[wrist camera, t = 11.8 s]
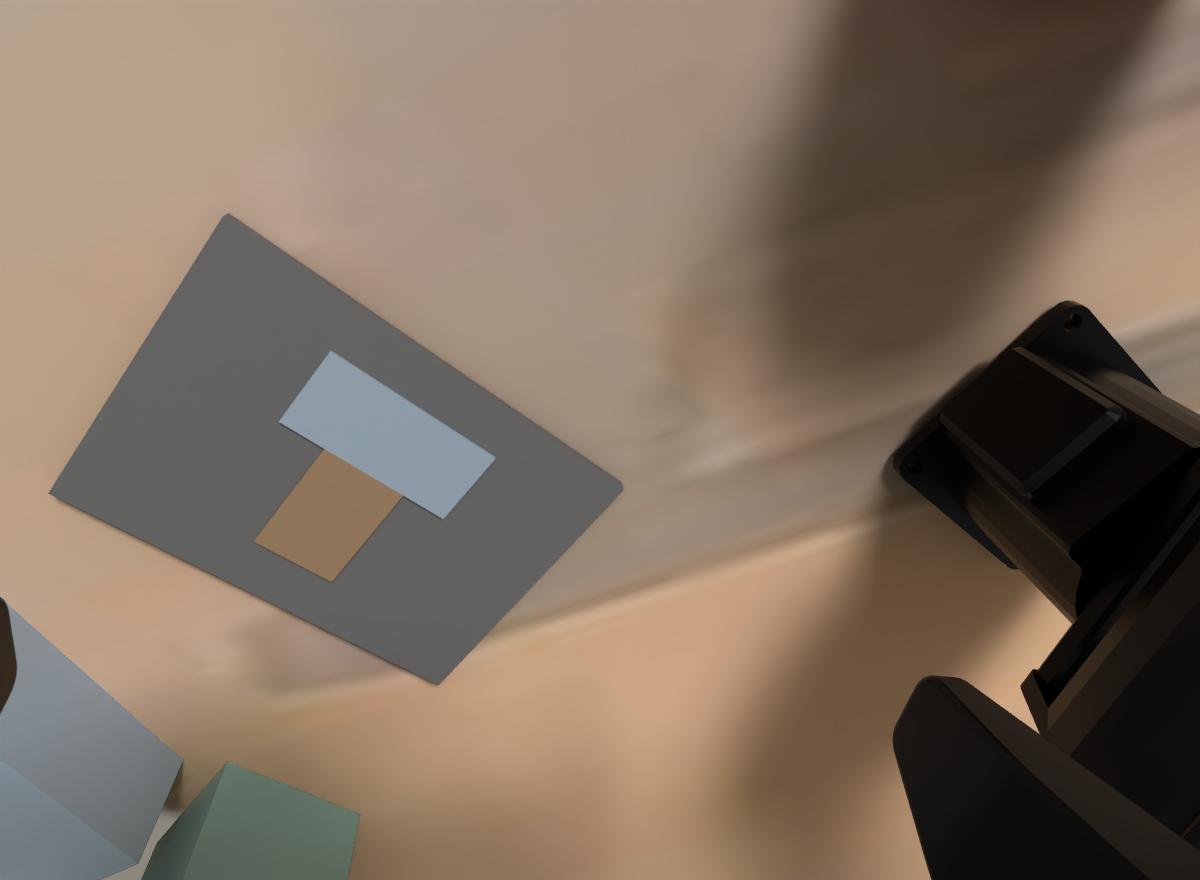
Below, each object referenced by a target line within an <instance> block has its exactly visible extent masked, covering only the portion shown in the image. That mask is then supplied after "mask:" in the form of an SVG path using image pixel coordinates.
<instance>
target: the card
mask: <svg viewBox="0 0 1200 880" xmlns="http://www.w3.org/2000/svg"><path fill="white" fill-rule="evenodd" d="M622 491H623V486H622V482H620V481H619V480H617V479H616V478H614V477H613V476H611V475H610V474H609V473H607V472H606V471H604V470H603V469H601V468H600V467H598V466H597V465H595V464H594V463H592V462H591V461H590V460H588V459H587V458H585V457H584V456H582V455H581V454H579V453H578V452H576V451H575V450H573V449H572V448H571V447H569V446H568V445H566V444H565V443H563V442H562V441H560V440H559V439H557V438H556V437H554V436H553V435H552V434H550V433H549V432H547V431H546V430H544V429H543V428H541V427H540V426H538V425H537V424H536V423H534V422H533V421H531V420H530V419H528V418H527V417H525V416H524V415H522V414H521V413H519V412H518V411H517V410H515V409H514V408H512V407H511V406H509V405H508V404H506V403H505V402H503V401H502V400H500V399H499V398H498V397H496V396H495V395H493V394H492V393H490V392H489V391H487V390H486V389H484V388H483V387H481V386H480V385H479V384H477V383H476V382H474V381H473V380H471V379H470V378H468V377H467V376H465V375H464V374H462V373H461V372H460V371H458V370H457V369H455V368H454V367H452V366H451V365H449V364H448V363H446V362H445V361H444V360H442V359H441V358H439V357H438V356H436V355H435V354H433V353H432V352H430V351H429V350H427V349H426V348H425V347H423V346H422V345H420V344H419V343H417V342H416V341H414V340H413V339H411V338H410V337H408V336H407V335H406V334H404V333H403V332H401V331H400V330H398V329H397V328H395V327H394V326H392V325H391V324H389V323H388V322H387V321H385V320H384V319H382V318H381V317H379V316H378V315H376V314H375V313H373V312H372V311H370V310H369V309H368V308H366V307H365V306H363V305H362V304H360V303H359V302H357V301H356V300H354V299H353V298H352V297H350V296H349V295H347V294H346V293H344V292H343V291H341V290H340V289H338V288H337V287H335V286H334V285H333V284H331V283H330V282H328V281H327V280H325V279H324V278H322V277H321V276H319V275H318V274H316V273H315V272H314V271H312V270H311V269H309V268H308V267H306V266H305V265H303V264H302V263H300V262H299V261H297V260H296V259H295V258H293V257H292V256H290V255H289V254H287V253H286V252H284V251H283V250H281V249H280V248H278V247H277V246H276V245H274V244H273V243H271V242H270V241H268V240H267V239H265V238H264V237H262V236H261V235H260V234H258V233H257V232H255V231H254V230H252V229H251V228H249V227H248V226H246V225H245V224H243V223H242V222H241V221H239V220H238V219H236V218H235V217H233V216H232V215H230V214H229V213H228V214H226V215H225V216H223V217H222V219H221V221H220V222H219V224H218V225H217V227H216V229H215V230H214V232H213V233H212V235H211V236H210V238H209V240H208V241H207V243H206V244H205V246H204V248H203V249H202V251H201V252H200V254H199V255H198V257H197V259H196V260H195V262H194V263H193V265H192V267H191V268H190V270H189V271H188V273H187V274H186V276H185V278H184V279H183V281H182V282H181V284H180V286H179V287H178V289H177V290H176V292H175V294H174V295H173V297H172V298H171V300H170V301H169V303H168V305H167V306H166V308H165V309H164V311H163V313H162V314H161V316H160V317H159V319H158V320H157V322H156V324H155V325H154V327H153V328H152V330H151V332H150V333H149V335H148V336H147V338H146V339H145V341H144V343H143V344H142V346H141V347H140V349H139V351H138V352H137V354H136V355H135V357H134V359H133V360H132V362H131V363H130V365H129V366H128V368H127V370H126V371H125V373H124V374H123V376H122V378H121V379H120V381H119V382H118V384H117V385H116V387H115V389H114V390H113V392H112V393H111V395H110V397H109V398H108V400H107V401H106V403H105V404H104V406H103V408H102V409H101V411H100V412H99V414H98V416H97V417H96V419H95V420H94V422H93V424H92V425H91V427H90V428H89V430H88V431H87V433H86V435H85V436H84V438H83V439H82V441H81V443H80V444H79V446H78V447H77V449H76V450H75V452H74V454H73V455H72V457H71V458H70V460H69V462H68V463H67V465H66V466H65V468H64V470H63V471H62V473H61V474H60V476H59V477H58V479H57V481H56V482H55V484H54V485H53V487H52V489H51V490H50V492H49V493H48V494H50V495H52V496H54V497H56V498H58V499H60V500H63V501H65V502H67V503H69V504H71V505H73V506H75V507H77V508H79V509H81V510H83V511H85V512H87V513H89V514H91V515H93V516H95V517H97V518H99V519H101V520H103V521H105V522H107V523H109V524H111V525H113V526H115V527H117V528H119V529H121V530H123V531H125V532H128V533H130V534H132V535H134V536H136V537H138V538H140V539H142V540H144V541H146V542H148V543H150V544H152V545H154V546H156V547H158V548H160V549H162V550H164V551H166V552H168V553H170V554H172V555H174V556H176V557H178V558H180V559H182V560H184V561H186V562H188V563H190V564H193V565H195V566H197V567H199V568H201V569H203V570H205V571H207V572H209V573H211V574H213V575H215V576H217V577H219V578H221V579H223V580H225V581H227V582H229V583H231V584H233V585H235V586H237V587H239V588H241V589H243V590H245V591H247V592H249V593H251V594H253V595H255V596H258V597H260V598H262V599H264V600H266V601H268V602H270V603H272V604H274V605H276V606H278V607H280V608H282V609H284V610H286V611H288V612H290V613H292V614H294V615H296V616H298V617H300V618H302V619H304V620H306V621H308V622H310V623H312V624H314V625H316V626H318V627H320V628H322V629H325V630H327V631H329V632H331V633H333V634H335V635H337V636H339V637H341V638H343V639H345V640H347V641H349V642H351V643H353V644H355V645H357V646H359V647H361V648H363V649H365V650H367V651H369V652H371V653H373V654H375V655H377V656H379V657H381V658H383V659H385V660H387V661H390V662H392V663H394V664H396V665H398V666H400V667H402V668H404V669H406V670H408V671H410V672H412V673H414V674H416V675H418V676H420V677H422V678H424V679H426V680H428V681H430V682H432V683H434V684H436V685H439V684H440V683H441V682H442V681H443V680H444V679H445V678H446V677H447V675H448V674H449V673H450V672H451V671H452V670H453V669H454V668H455V667H456V666H457V665H458V664H459V663H460V662H461V661H462V660H463V659H464V658H465V656H466V655H467V654H468V653H469V652H470V651H471V650H472V649H473V648H474V647H475V646H476V645H477V644H478V643H479V642H480V641H481V640H482V639H483V637H484V636H485V635H486V634H487V633H488V632H489V631H490V630H491V629H492V628H493V627H494V626H495V625H496V624H497V623H498V622H499V621H500V620H501V618H502V617H503V616H504V615H505V614H506V613H507V612H508V611H509V610H510V609H511V608H512V607H513V606H514V605H515V604H516V603H517V602H518V601H519V600H520V598H521V597H522V596H523V595H524V594H525V593H526V592H527V591H528V590H529V589H530V588H531V587H532V586H533V585H534V584H535V583H536V582H537V581H538V579H539V578H540V577H541V576H542V575H543V574H544V573H545V572H546V571H547V570H548V569H549V568H550V567H551V566H552V565H553V564H554V563H555V562H556V560H557V559H558V558H559V557H560V556H561V555H562V554H563V553H564V552H565V551H566V550H567V549H568V548H569V547H570V546H571V545H572V544H573V543H574V541H575V540H576V539H577V538H578V537H579V536H580V535H581V534H582V533H583V532H584V531H585V530H586V529H587V528H588V527H589V526H590V525H591V524H592V523H593V521H594V520H595V519H596V518H597V517H598V516H599V515H600V514H601V513H602V512H603V511H604V510H605V509H606V508H607V507H608V506H609V505H610V504H611V502H612V501H613V500H614V499H615V498H616V497H617V496H618V495H619V494H620V493H621V492H622Z"/></svg>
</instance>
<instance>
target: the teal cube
mask: <svg viewBox="0 0 1200 880" xmlns="http://www.w3.org/2000/svg"><path fill="white" fill-rule="evenodd" d="M359 816H360V814H358V813H356V812H353V811H351V810H348V809H346V808H343V807H341V806H338V805H336V804H333V803H331V802H328V801H326V800H323V799H321V798H318V797H316V796H313V795H311V794H308V793H306V792H303V791H301V790H298V789H296V788H293V787H291V786H288V785H286V784H283V783H281V782H278V781H276V780H273V779H270V778H268V777H265V776H263V775H260V774H258V773H255V772H253V771H250V770H248V769H245V768H243V767H240V766H238V765H235V764H233V763H230V762H228V761H227V763H226V764H225V765H224V766H223V767H222V769H221V770H220V771H219V772H218V773H217V774H216V776H215V777H214V778H213V779H212V780H211V781H210V783H209V784H208V785H207V786H206V787H205V788H204V790H203V791H202V792H201V793H200V794H199V795H198V797H197V798H196V799H195V800H194V801H193V802H192V804H191V805H190V806H189V807H188V808H187V809H186V811H185V812H184V813H183V814H182V815H181V816H179V818H178V819H177V820H176V821H175V822H174V823H173V825H172V826H171V827H170V828H169V829H168V831H167V832H166V833H165V834H164V835H163V836H162V837H161V839H160V840H159V841H158V842H157V844H156V846H155V849H154V851H153V853H152V856H151V858H150V860H149V863H148V865H147V867H146V870H145V872H144V874H143V877H142V879H141V880H348V875H349V870H350V864H351V859H352V853H353V848H354V843H355V837H356V832H357V826H358V821H359Z"/></svg>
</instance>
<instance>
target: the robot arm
mask: <svg viewBox="0 0 1200 880" xmlns="http://www.w3.org/2000/svg"><path fill="white" fill-rule="evenodd" d="M1072 314H1073V316H1072V320H1071V321H1070V322H1069V324H1067V325H1066V326H1064V322H1065V320H1066V319H1067V318H1068V317H1069V316H1071V315H1072ZM1063 326H1064V327H1063ZM914 459H918V461H917V462H916V463H915V464H914V465H913V466H911V467H908V464H909V463H910V462H911V461H912V460H914ZM893 466H894V468H895V470H896V471H897V472H898V473H899V475H900V476H901V477H902V478H903V479H904V480H905V481H907V482H908V483H909V484H910V485H911V486H913V487H914V488H915V489H916V490H917V491H919V492H920V493H921V494H922V495H923V496H924V497H926V498H927V499H928V500H929V501H930V502H932V503H933V504H934V505H935V506H936V507H938V508H939V509H940V510H941V511H942V512H943V513H945V514H946V515H947V516H948V517H949V518H951V519H952V520H953V521H954V522H955V523H956V524H958V525H959V526H960V527H961V528H962V529H964V530H965V531H966V532H967V533H968V534H970V535H971V536H972V537H973V538H974V539H975V540H977V541H978V542H979V543H980V544H981V545H983V546H984V547H985V548H986V549H987V550H989V551H990V552H991V553H992V554H993V555H994V556H996V557H997V558H998V559H999V560H1000V561H1002V562H1003V563H1004V564H1005V565H1006V566H1007V567H1009V568H1011V569H1020V570H1021V571H1022V572H1023V573H1024V574H1025V575H1026V576H1027V578H1028V579H1029V580H1030V581H1031V582H1032V583H1033V584H1034V585H1035V586H1036V587H1037V588H1038V589H1039V590H1040V591H1041V592H1042V593H1043V594H1044V595H1045V596H1046V597H1047V598H1048V599H1049V600H1050V601H1051V602H1052V604H1053V605H1054V606H1055V607H1056V608H1057V609H1058V610H1059V611H1060V612H1061V613H1062V614H1063V615H1064V616H1065V617H1066V618H1067V619H1068V620H1069V621H1070V622H1071V623H1072V625H1071V627H1070V628H1069V629H1068V630H1067V632H1066V633H1065V634H1064V636H1063V637H1062V638H1061V640H1060V641H1059V642H1058V644H1057V645H1056V646H1055V648H1054V649H1053V650H1052V652H1051V653H1050V654H1049V656H1048V657H1047V658H1046V660H1045V661H1044V662H1043V664H1042V665H1041V666H1040V668H1039V669H1038V670H1036V669H1033V670H1032V671H1031V672H1030V674H1029V675H1028V676H1027V678H1026V679H1025V680H1024V682H1023V683H1022V684H1021V686H1020V687H1021V690H1022V693H1023V695H1024V698H1025V700H1026V702H1027V705H1028V707H1029V709H1030V712H1031V714H1032V717H1033V719H1034V721H1035V724H1036V726H1037V729H1038V731H1039V733H1040V734H1039V733H1037V732H1036V731H1034V730H1033V729H1032V728H1030V727H1029V726H1027V725H1026V724H1025V723H1023V722H1022V721H1021V720H1019V719H1018V718H1016V717H1015V716H1014V715H1012V714H1011V713H1009V712H1008V711H1007V710H1005V709H1004V708H1002V707H1001V706H1000V705H998V704H997V703H996V702H994V701H993V700H991V699H990V698H989V697H987V696H986V695H984V694H983V693H982V692H980V691H979V690H978V689H976V688H975V687H973V686H972V685H971V684H969V683H968V682H966V681H965V680H962V679H960V678H955V677H944V676H926V677H924V678H923V679H921V680H920V681H919V682H918V684H917V685H916V687H915V689H914V691H913V693H912V694H911V696H910V698H909V700H908V702H907V704H906V706H905V708H904V710H903V711H902V713H901V715H900V717H899V719H898V721H897V723H896V725H895V727H894V732H893V749H894V753H895V757H896V760H897V764H898V767H899V771H900V774H901V778H902V781H903V784H904V788H905V791H906V795H907V798H908V802H909V805H910V809H911V812H912V816H913V819H914V823H915V826H916V829H917V833H918V836H919V840H920V843H921V847H922V850H923V854H924V857H925V861H926V864H927V867H928V871H929V874H930V877H931V880H1200V415H1199V414H1198V413H1196V412H1194V411H1192V410H1190V409H1188V408H1187V407H1185V406H1183V405H1181V404H1179V403H1178V402H1176V401H1174V400H1172V399H1170V398H1168V397H1167V396H1165V395H1163V394H1162V393H1161V392H1160V391H1159V390H1158V388H1157V387H1156V386H1155V385H1154V384H1153V383H1152V382H1151V380H1150V379H1149V378H1148V377H1147V376H1146V375H1145V373H1144V372H1143V371H1142V370H1141V369H1140V368H1139V367H1138V365H1137V364H1136V363H1135V362H1134V361H1133V360H1132V359H1131V357H1130V356H1129V355H1128V354H1127V353H1126V352H1125V350H1124V349H1123V348H1122V347H1121V346H1120V345H1119V344H1118V342H1117V341H1116V340H1115V339H1114V338H1113V337H1112V336H1111V334H1110V333H1109V332H1108V331H1107V330H1106V329H1105V327H1104V326H1103V325H1102V324H1101V323H1100V322H1099V321H1098V319H1097V318H1096V317H1095V316H1094V315H1093V314H1092V312H1091V311H1090V310H1089V309H1088V308H1086V307H1085V306H1083V305H1081V304H1079V303H1077V302H1075V301H1064V302H1061V303H1059V304H1057V305H1056V306H1055V307H1053V308H1052V309H1051V310H1050V311H1049V312H1048V313H1047V314H1046V315H1045V316H1044V317H1042V318H1041V319H1040V320H1039V321H1038V322H1037V323H1036V324H1035V325H1034V326H1033V327H1032V328H1031V329H1030V330H1028V331H1027V332H1026V333H1025V334H1024V335H1023V336H1022V337H1021V338H1020V339H1019V340H1018V341H1017V342H1016V343H1014V344H1013V345H1012V346H1011V347H1010V348H1009V349H1008V350H1007V351H1006V352H1005V353H1004V354H1003V355H1002V356H1000V357H999V358H998V359H997V360H996V361H995V362H994V363H993V364H992V365H991V366H990V367H989V368H988V369H986V370H985V371H984V372H983V373H982V374H981V375H980V376H979V377H978V378H977V379H976V380H975V381H974V382H972V383H971V384H970V385H969V386H968V387H967V388H966V389H965V390H964V391H963V392H962V393H961V394H960V395H958V396H957V397H956V398H955V399H954V400H953V401H952V402H951V403H950V404H949V405H948V406H947V407H946V408H944V409H943V410H942V411H941V412H940V413H939V414H938V415H937V416H936V417H935V418H934V419H933V420H932V421H930V422H929V423H928V424H927V425H926V426H925V427H924V428H923V429H922V430H921V431H920V432H919V433H918V434H916V435H915V436H914V437H913V438H912V439H911V440H910V441H909V442H908V443H907V444H906V445H905V446H903V447H902V448H901V449H900V450H899V451H898V453H897V454H896V455H895V457H894V460H893ZM16 676H17V659H16V653H15V647H14V640H13V634H12V628H11V622H10V615H9V610H8V607H7V604H6V602H5V601H4V599H2V598H1V597H0V714H1V712H2V710H3V708H4V706H5V704H6V702H7V700H8V699H9V697H10V694H11V692H12V690H13V687H14V684H15V680H16Z"/></svg>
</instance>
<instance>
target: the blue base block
mask: <svg viewBox="0 0 1200 880" xmlns="http://www.w3.org/2000/svg"><path fill="white" fill-rule="evenodd" d="M6 604H7V603H6ZM7 607H8V610H9V615H10V622H11V628H12V634H13V640H14V647H15V653H16V659H17V676H16V680H15V684H14V687H13V690H12V692H11V694H10V697H9V699H8V700H7V702H6V704H5V706H4V708H3V710H2V712H1V714H0V880H101V879H103V878H105V877H108V876H110V875H113V874H115V873H117V872H120V871H122V870H125V869H127V868H129V867H132V866H134V865H136V864H138V863H139V861H140V858H141V856H142V854H143V851H144V849H145V847H146V844H147V842H148V840H149V838H150V835H151V833H152V831H153V829H154V826H155V824H156V822H157V819H158V817H159V815H160V812H161V810H162V808H163V806H164V803H165V801H166V799H167V796H168V794H169V792H170V789H171V787H172V785H173V782H174V780H175V778H176V776H177V773H178V771H179V769H180V766H181V764H182V762H183V760H182V759H181V758H180V757H179V756H178V755H177V754H176V753H175V752H173V751H172V750H171V749H170V748H169V747H168V746H167V745H166V744H164V743H163V742H162V741H161V740H160V739H159V738H158V737H157V736H155V735H154V734H153V733H152V732H151V731H150V730H149V729H148V728H146V727H145V726H144V725H143V724H142V723H141V722H140V721H139V720H137V719H136V718H135V717H134V716H133V715H132V714H131V713H130V712H128V711H127V710H126V709H125V708H124V707H123V706H122V705H121V704H119V703H118V702H117V701H116V700H115V699H114V698H113V697H111V696H110V695H109V694H108V693H107V692H106V691H105V690H104V689H102V688H101V687H100V686H99V685H98V684H97V683H96V682H95V681H93V680H92V679H91V678H90V677H89V676H88V675H87V674H86V673H84V672H83V671H82V670H81V669H80V668H79V667H78V666H77V665H75V664H74V663H73V662H72V661H71V660H70V659H69V658H68V657H66V656H65V655H64V654H63V653H62V652H61V651H60V650H59V649H57V648H56V647H55V646H54V645H53V644H52V643H51V642H50V641H48V640H47V639H46V638H45V637H44V636H43V635H42V634H41V633H39V632H38V631H37V630H36V629H35V628H34V627H33V626H32V625H30V624H29V623H28V622H27V621H26V620H25V619H24V618H23V617H21V616H20V615H19V614H18V613H17V612H16V611H15V610H14V609H12V608H11V607H10V606H9V605H8V604H7Z"/></svg>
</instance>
